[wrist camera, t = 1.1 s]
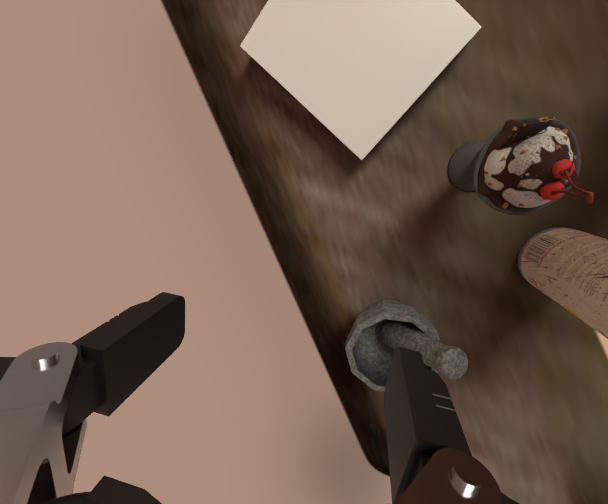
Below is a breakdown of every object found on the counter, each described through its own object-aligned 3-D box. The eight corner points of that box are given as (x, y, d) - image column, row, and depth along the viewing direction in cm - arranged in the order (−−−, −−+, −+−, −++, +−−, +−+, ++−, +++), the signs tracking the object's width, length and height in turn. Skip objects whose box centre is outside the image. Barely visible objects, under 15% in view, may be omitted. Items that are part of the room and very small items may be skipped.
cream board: (342, -86, 26) (340, -116, 23) (469, 41, 27) (481, 27, 24) (251, 56, 31) (240, 45, 28) (361, 160, 32) (361, 160, 29)
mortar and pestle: (372, 365, 39) (376, 447, 27) (334, 308, 37) (322, 371, 26) (455, 330, 35) (498, 408, 24) (416, 266, 34) (443, 317, 23)
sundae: (489, 208, 31) (598, 245, 17) (428, 186, 31) (483, 205, 17) (525, 145, 29) (684, 126, 15) (458, 122, 29) (549, 83, 15)
